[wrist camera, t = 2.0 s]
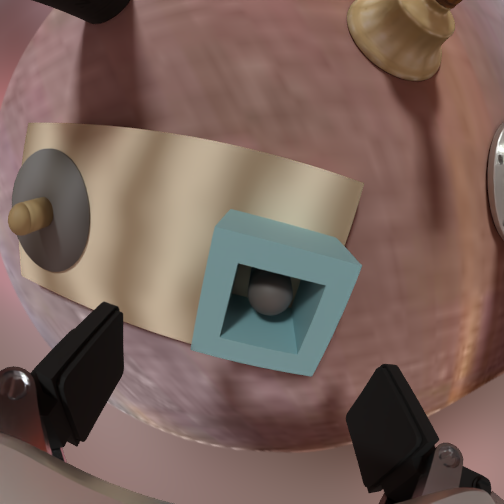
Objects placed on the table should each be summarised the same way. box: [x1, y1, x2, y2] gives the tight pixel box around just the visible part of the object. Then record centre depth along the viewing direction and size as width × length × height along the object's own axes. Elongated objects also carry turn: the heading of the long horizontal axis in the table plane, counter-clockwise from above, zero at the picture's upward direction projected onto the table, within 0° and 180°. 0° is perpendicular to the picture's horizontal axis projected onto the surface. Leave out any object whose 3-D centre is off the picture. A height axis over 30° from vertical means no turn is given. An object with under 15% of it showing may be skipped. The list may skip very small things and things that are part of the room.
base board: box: [8, 123, 364, 344], centre depth 16 cm, size 27×14×6 cm, turn 76°
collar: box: [191, 209, 362, 376], centre depth 15 cm, size 7×7×5 cm
